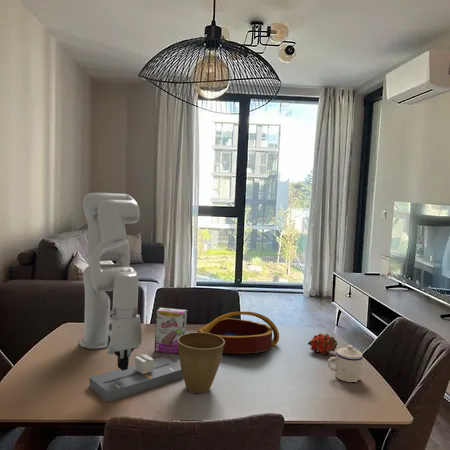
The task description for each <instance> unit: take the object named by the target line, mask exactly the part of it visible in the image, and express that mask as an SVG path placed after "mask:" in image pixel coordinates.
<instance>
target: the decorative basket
mask: <svg viewBox="0 0 450 450" xmlns="http://www.w3.org/2000/svg"><path fill="white" fill-rule="evenodd" d="M240 315H241V316H242V315H244V316H245V315H246V316H252V317H256V318H258V319H260V320H262V321H263V322H265V324H264V323H260V322H256V321H255V322H254V321H252V320H246V319H241V318H240V319H239V318H232V317H234V316H240ZM278 329H279V328H277V326H276V325H275V323H274V322H273V321H272V319H270V318H269V317H267V316H265V315H263V314H261V313H257V312H253V311H234V312H233V311H231V312H229V313H225V314H222V315H220V316H217V317H216V318H214V319H213V320H212V321H210V322H209V323H206V324H204V326H202V327H201V328H200V329H197V332H203V333H210V334H214V335H217V336H220V337H221V338H223V339H224V341H225V343H224V348H223V352H222V354H252V353H254V354H255V353H262V352H266V351H268V350H270V349H271V348H272V347H275V346H277V344H278V342H279V340H280V332H279V330H278ZM271 346H272V347H271Z"/></svg>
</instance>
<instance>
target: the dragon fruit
mask: <svg viewBox="0 0 450 450" xmlns="http://www.w3.org/2000/svg"><path fill="white" fill-rule="evenodd" d="M307 345H308V346H310V350H311V351H312V352H316V351H318V352H319V353H321V355H322V354H323V355H325V354H326V353H329V354H330V352H336V349H337V346H338V342H337V340H336V339H335V337H333V336H330V335H329V334H328V333H325V334H322V333H318V335H314V336H313V338H312V339H311V340H309V342H307ZM318 352H317V353H318Z"/></svg>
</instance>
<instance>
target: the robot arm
mask: <svg viewBox="0 0 450 450" xmlns="http://www.w3.org/2000/svg"><path fill="white" fill-rule="evenodd" d="M82 208H83V209H82V211H83V214H84V216H85V219H86V222H87V257H88V259H89V260H90V265H88V266H86V267H85V268H84V269H83V274H82V279H83V287H84V324H83V325H84V327H83V329H84V330H83V331H82V332H83V338H81V339H80V340H79V345H80V347H82V348H84V349H88V350H100V349H104V348H107V351H106V353H107V354H108V355H115V356H116V357H117V367H118V370H119V369H121V370H122V371H124V370H127V369H128V367H129V361H130V357H131V354H132V352H133V351H134V350H136V349H138V348H139V347H140V346H141V345H142V337H143V336H142V335H143V334H142V331H143V330H142V322H141V316H140V314H138V303H139V300H138V299H139V275H138V273H137V271H136V270H135V268H133V267H131V265H130V264H131V262H130V261H131V256H130V255H131V248H130V247H131V246H130V242H129V240H128V238H127V237H128V236H127V231H126V225H125V224H136V223H138V222H139V220H140V215H141V211H140V206H139V204H138V202H137V201H136V200H135V199H134V198H133V197H132V196H131V195H130V194H127V193H115V192H90V193H86V194H85V195H84V196H83V200H82ZM109 261H110V262H111V261H112V262H113V261H116V263H101V262H109ZM106 292H113V293H112V307H111V298H110V296H109V295H108V293H106Z"/></svg>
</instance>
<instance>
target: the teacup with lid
mask: <svg viewBox="0 0 450 450" xmlns="http://www.w3.org/2000/svg"><path fill="white" fill-rule="evenodd" d="M335 354H336V356H331V357H330V358H328V359H327V367H328V368H329V371H332V372H334V377H335V376H336V377H337V378H338V379H337V378H336V377H335V378H336V379H337V380H339V379H340V380H343V381H349V382H354V381H358V380H360V381H361V373H362V364H363V363H362V362H363V358H364V355H363V353H362V352H361V351H359V350H357V349H355V348H354V346H353V345H351V344H348V345H346V346H345V347H339V348H338V349H337V350H335ZM333 360H334V361H335V368H334V367H332V366H331V361H333ZM340 380H339V381H340ZM343 381H342V382H343Z"/></svg>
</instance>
